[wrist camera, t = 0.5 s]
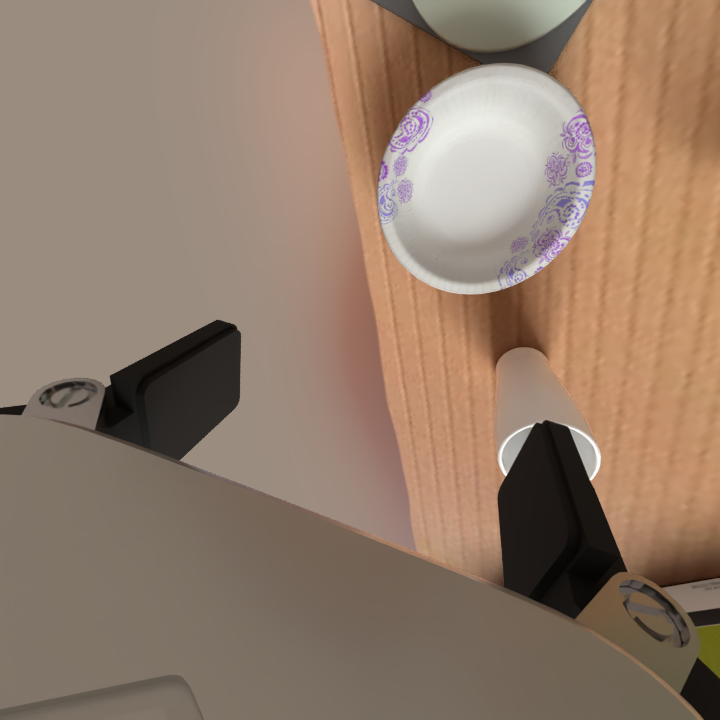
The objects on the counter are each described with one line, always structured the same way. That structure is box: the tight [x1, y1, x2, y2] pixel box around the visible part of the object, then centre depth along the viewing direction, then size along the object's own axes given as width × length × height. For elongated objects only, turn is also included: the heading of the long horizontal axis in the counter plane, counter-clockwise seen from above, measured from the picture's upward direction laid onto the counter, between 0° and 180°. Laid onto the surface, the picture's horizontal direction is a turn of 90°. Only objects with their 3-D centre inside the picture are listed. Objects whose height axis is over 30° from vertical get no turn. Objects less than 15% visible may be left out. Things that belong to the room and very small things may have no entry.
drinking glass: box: [494, 347, 601, 481], centre depth 32 cm, size 7×7×15 cm
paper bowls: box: [377, 63, 596, 294], centre depth 29 cm, size 15×15×8 cm
